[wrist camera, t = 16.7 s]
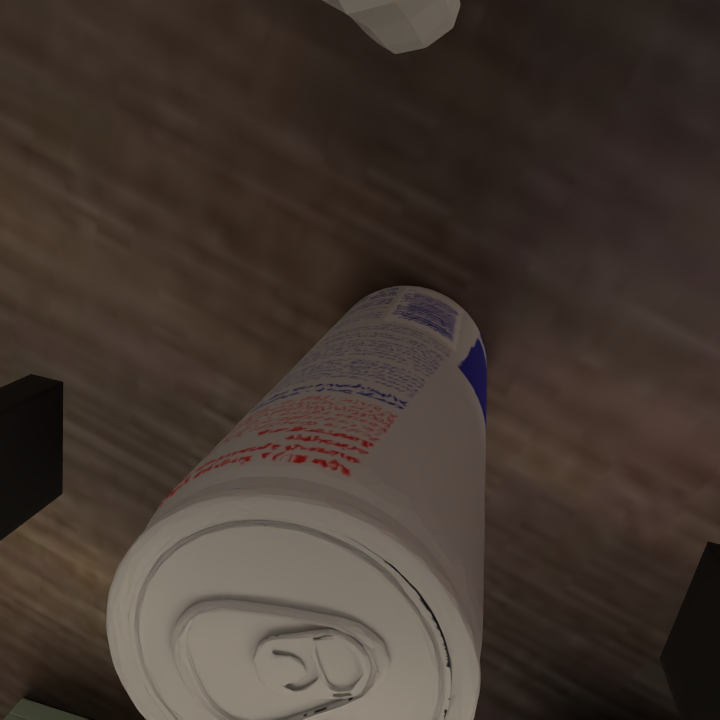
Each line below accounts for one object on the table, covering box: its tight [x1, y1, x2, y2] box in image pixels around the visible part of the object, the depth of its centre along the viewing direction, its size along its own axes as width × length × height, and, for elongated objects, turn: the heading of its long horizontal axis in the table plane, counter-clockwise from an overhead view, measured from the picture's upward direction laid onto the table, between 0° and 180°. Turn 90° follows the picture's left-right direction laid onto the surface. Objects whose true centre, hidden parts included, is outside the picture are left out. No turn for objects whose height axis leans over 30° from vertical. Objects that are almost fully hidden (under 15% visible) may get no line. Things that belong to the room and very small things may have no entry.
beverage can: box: [106, 286, 487, 720], centre depth 16 cm, size 6×6×15 cm
